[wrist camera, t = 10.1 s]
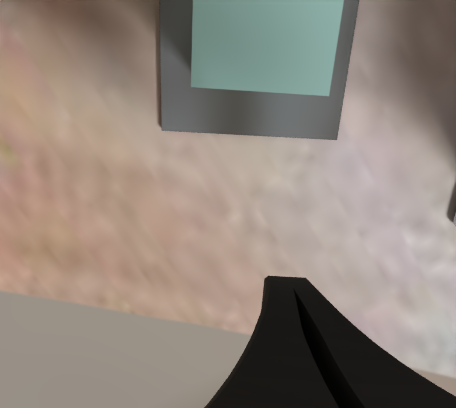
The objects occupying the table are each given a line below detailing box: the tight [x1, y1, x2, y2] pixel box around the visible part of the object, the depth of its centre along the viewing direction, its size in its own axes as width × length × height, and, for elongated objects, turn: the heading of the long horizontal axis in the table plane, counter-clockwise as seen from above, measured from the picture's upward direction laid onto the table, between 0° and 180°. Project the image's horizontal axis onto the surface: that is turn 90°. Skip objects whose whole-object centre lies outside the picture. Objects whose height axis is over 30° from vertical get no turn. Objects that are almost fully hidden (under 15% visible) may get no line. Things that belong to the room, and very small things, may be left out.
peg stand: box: [160, 0, 359, 140], centre depth 15 cm, size 10×10×5 cm
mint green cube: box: [191, 0, 344, 96], centre depth 14 cm, size 5×5×6 cm
